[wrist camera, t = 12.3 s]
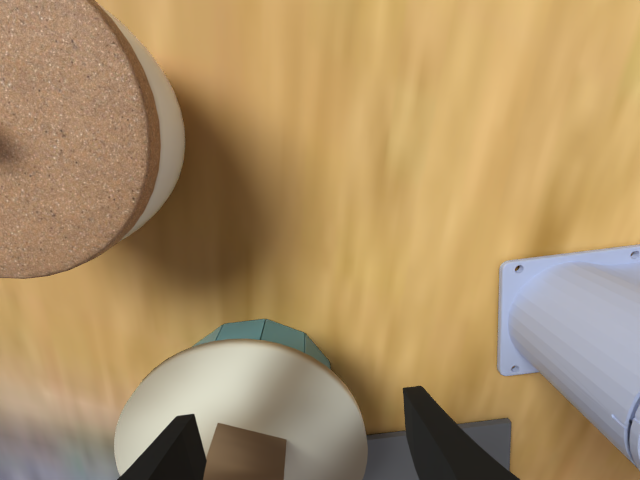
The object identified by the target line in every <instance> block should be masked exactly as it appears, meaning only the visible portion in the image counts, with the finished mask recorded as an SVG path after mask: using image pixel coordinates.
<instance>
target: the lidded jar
mask: <svg viewBox="0 0 640 480" xmlns="http://www.w3.org/2000/svg"><path fill="white" fill-rule="evenodd" d="M184 153H185V128H184V123H183V118H182V113H181V109H180V106H179V103H178V100H177V97H176V95H175V92H174V90H173V88H172V86H171V84H170V82H169V80H168V78H167V77H166V75H165V73H164V72H163V70H162V69H161V67H160V66H159V64H158V63H157V62H156V60H155V59H154V57H153V56H152V55H151V53H150V52H149V50H148V49H147V48H146V47H145V46H144V45H143V44H142V43H141V42H140V41H139V39H138V38H137V37H136V36H135V35H134V34H133V33H132V32H131V31H130V30H129V29H128V28H127V27H126V26H125V25H124V24H123V23H122V22H121V21H120V20H118V19H117V18H116V17H115V16H113V15H112V14H111V13H110V12H108V11H107V10H106V9H105V8H104V7H102V6H101V5H100V4H98V3H97V2H96V1H95V0H0V278H21V279H25V278H35V277H44V276H50V275H53V274H57V273H61V272H64V271H68V270H71V269H73V268H75V267H77V266H79V265H81V264H84V263H86V262H88V261H90V260H92V259H94V258H96V257H98V256H99V255H101V254H102V253H104V252H105V251H107V250H108V249H110V248H111V247H112V246H114V245H115V244H117V243H118V242H120V241H121V240H123V239H125V238H126V237H128V236H129V235H131V234H132V233H134V232H135V231H136V230H138V229H139V228H141V227H142V226H143V225H144V224H145V223H146V222H148V221H149V220H150V219H151V218H152V217H153V216H154V215H155V214H156V213H157V212H158V211H159V210H160V208H161V207H162V206H163V204H164V203H165V201H166V200H167V198H168V197H169V196H170V194H171V193H172V191H173V189H174V187H175V185H176V183H177V181H178V179H179V176H180V173H181V169H182V165H183V162H184Z"/></svg>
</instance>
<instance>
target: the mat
mask: <svg viewBox="0 0 640 480" xmlns="http://www.w3.org/2000/svg"><path fill="white" fill-rule="evenodd" d="M457 425H458V426H459V427H460V428H461V429H462V430H463V431H464V432H465V433H466V434H468V435H469V436H470V437H471V438H472V439H473V440H474V441H475V442H476V443H477V444H478V445H479V446H480V447H482V448H483V449H484V450H485V451H486V452H487V453H488V454H489V455H490V456H492V457H493V458H494V459H495V460H496V461H497V462H499V463H500V464H501V465H502V466H503V467H505V468H506V469H507V470H508V471H509V467H510V442H511V421H510V420H509V419H508V418H504V419H496V420H488V421H480V422H472V423H464V424H457ZM366 436H367V445H368V456H367V465H366V469H365V474H364V477H363V479H362V480H419V478H418V475H417V472H416V470H415V467H414V463H413V460H412V456H411V453H410V449H409V445H408V441H407V438H406V431H398V432H390V433H382V434H374V435H366Z"/></svg>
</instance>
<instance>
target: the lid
mask: <svg viewBox="0 0 640 480" xmlns="http://www.w3.org/2000/svg"><path fill="white" fill-rule="evenodd" d="M188 414H195V418H196V422H197V426H198V429H199V433H200V437H201V441H202V445H203V448H204V452H205V456H206V460H207V462H206V467H205V472H204V477H203V480H362V479H363V477H364V474H365V469H366V465H367V456H368V445H367V436H366V431H365V426H364V421H363V418H362V414H361V411H360V409H359V406H358V404H357V402H356V400H355V398H354V396H353V395H352V393H351V392H350V390H349V389H348V387H347V386H346V385H345V384H344V383H343V381H342V380H341V379H340V378H339V377H338V376H337V375H336V374H335V373H334V372H333V371H331V370H330V369H329V368H328V367H327V366H326V365H324V364H322V363H321V362H319V361H318V360H316V359H315V358H313V357H312V356H309V355H307V354H305V353H303V352H301V351H299V350H297V349H294V348H291V347H288V346H285V345H282V344H279V343H274V342H269V341H265V340H255V339H226V340H218V341H212V342H208V343H204V344H200V345H196V346H194V347H191V348H188V349H186V350H183V351H181V352H179V353H177V354H175V355H174V356H172V357H170V358H168V359H166V360H165V361H164V362H162V363H161V364H160V365H158V366H157V367H156V368H154V369H153V370H152V371H151V372H150V373H149V374H148V375H147V376H146V377H145V378H144V379H143V381H142V382H141V383H140V385H139V386H138V387H137V389H136V390H135V391H134V393H133V394H132V396H131V397H130V398H129V400H128V401H127V403H126V405H125V407H124V409H123V411H122V413H121V415H120V417H119V421H118V424H117V427H116V433H115V440H114V450H115V459H116V464H117V469H118V471H119V474H120V476H121V475H122V474H123V473H124V472H125V471H126V470H127V469H128V468H129V467H130V466H131V465H132V464H133V463H134V462H135V461H136V460H137V459H138V457H139V456H140V455H141V454H142V453H143V452H144V451H145V450H146V449H147V448H148V447H149V446H150V444H151V443H152V442H153V441H154V440H155V439H156V438H157V437H158V436H159V434H160V433H161V432H162V431H163V430H164V429H165V428H166V427H167V426H168V425H169V424H170V422H171V421H172V420H173V419H174V418H175V417H176V416H180V415H188Z"/></svg>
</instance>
